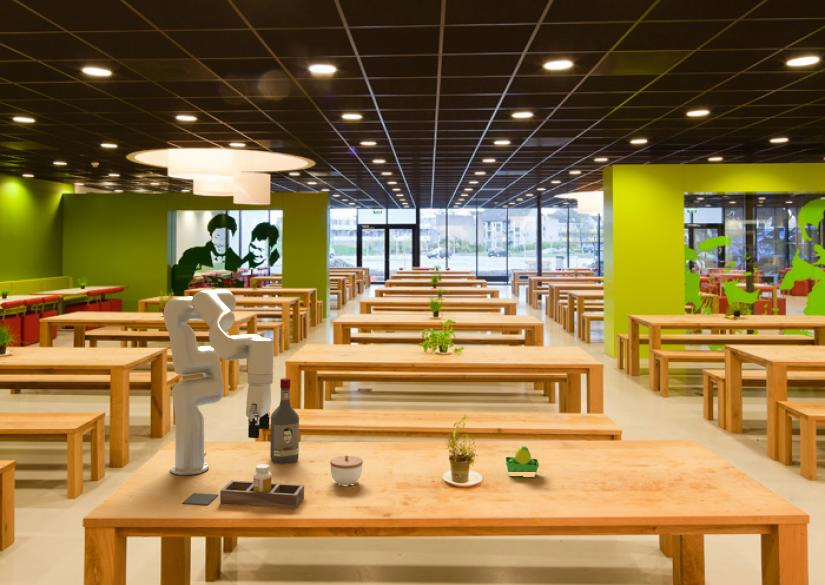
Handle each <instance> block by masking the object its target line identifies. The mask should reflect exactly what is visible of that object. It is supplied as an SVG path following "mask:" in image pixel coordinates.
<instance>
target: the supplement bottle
mask: <svg viewBox="0 0 825 585" xmlns="http://www.w3.org/2000/svg"><path fill="white" fill-rule="evenodd" d="M252 482H253V491H255V492H271V483H272V473H271V472H270V464H266V463H260V464H257V465H256V466H255V472H254V473H253V481H252Z"/></svg>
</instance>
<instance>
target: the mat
mask: <svg viewBox="0 0 825 585" xmlns="http://www.w3.org/2000/svg"><path fill="white" fill-rule="evenodd" d="M218 497H219V494H215V493H200V492H193V493H192V494H191V495H189V496H188V497H186V499H184V500H183V501H182V505H194V506H195V505H199V506H209V505H210V504H211V503H212V502H213V501H215V500H216V498H218Z"/></svg>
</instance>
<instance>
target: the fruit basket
mask: <svg viewBox="0 0 825 585" xmlns="http://www.w3.org/2000/svg"><path fill="white" fill-rule="evenodd" d="M514 456H515V457H513V456H505V457H504V458H505V465H506V468H507V473H508V472H536V473H537V472H538V468H539V467H540V463H539V460H538V459H537V458H532V455H531V452H530V450H529V448H528V447H527V446H525V445H523V446H521V447H519V448H518V449H517V450H516V452H515V455H514Z"/></svg>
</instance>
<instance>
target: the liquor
mask: <svg viewBox="0 0 825 585" xmlns="http://www.w3.org/2000/svg"><path fill="white" fill-rule="evenodd" d="M279 384H280V401H279V405H278V406H277V407H276V408H275V409H274V411H273V412H272V413H271V415H270V447H269V448H270V450H269V451H270V453H269V454H270V455H269V456H270V459H271V461H272V460H273V461H272V462H273V463H274V464H275V463H277V465H285V463H288V464H294V463H295V461H296V462H298V460H299V458H300V457H299V455H300V454H299V451H300V450H299V449H300V448H299V447H300V437H299V435H300V417H299V415H298V413H297V412H296V410H295V409H294V408H293V407H292V405H291V404H292V403H291V401H290V400H291V398H290V396H291V395H290V394H291V378H284V377H283V378H280V383H279ZM293 462H294V463H293Z"/></svg>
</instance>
